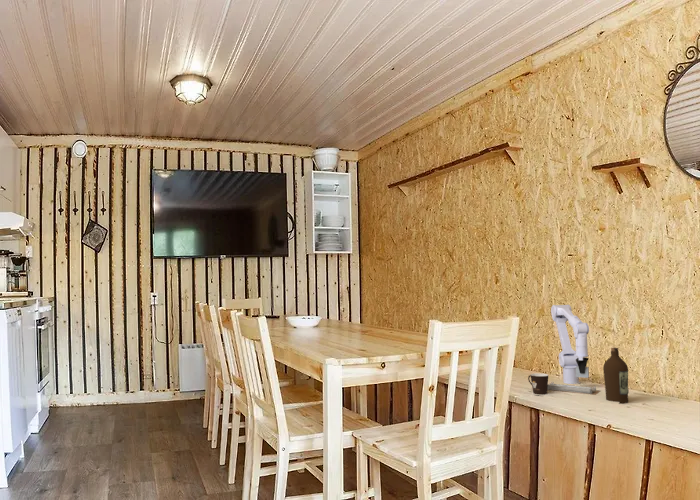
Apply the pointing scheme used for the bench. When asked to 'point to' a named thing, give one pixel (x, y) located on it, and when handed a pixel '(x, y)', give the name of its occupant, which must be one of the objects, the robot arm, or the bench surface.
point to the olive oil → (616, 378)
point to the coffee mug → (539, 383)
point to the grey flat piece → (571, 388)
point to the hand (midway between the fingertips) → (582, 372)
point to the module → (584, 375)
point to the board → (581, 393)
